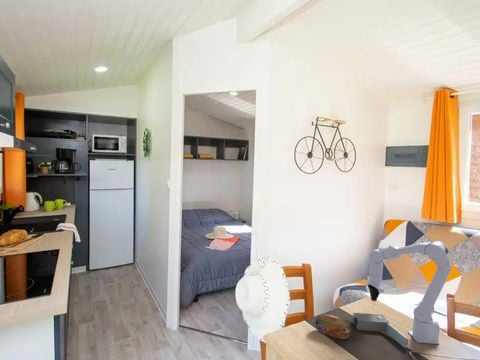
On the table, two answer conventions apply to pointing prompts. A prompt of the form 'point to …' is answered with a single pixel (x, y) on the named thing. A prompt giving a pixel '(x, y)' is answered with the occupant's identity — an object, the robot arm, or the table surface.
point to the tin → (333, 326)
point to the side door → (397, 335)
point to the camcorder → (370, 322)
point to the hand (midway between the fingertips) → (373, 300)
